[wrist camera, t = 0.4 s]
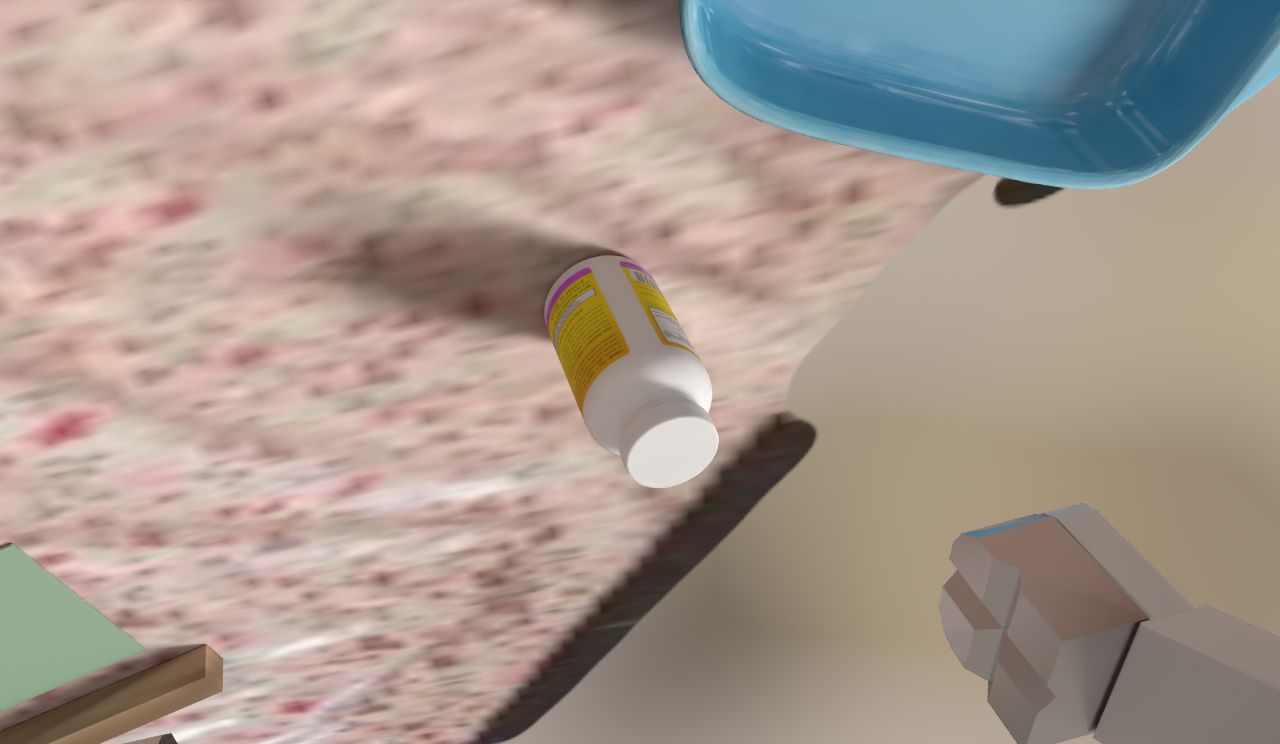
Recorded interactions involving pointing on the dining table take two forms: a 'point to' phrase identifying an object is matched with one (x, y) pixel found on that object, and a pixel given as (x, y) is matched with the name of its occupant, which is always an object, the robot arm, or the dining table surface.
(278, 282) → the dining table surface
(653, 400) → the supplement bottle
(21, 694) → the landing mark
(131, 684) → the stopper wall
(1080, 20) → the casserole dish
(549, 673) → the dining table surface
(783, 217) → the dining table surface
